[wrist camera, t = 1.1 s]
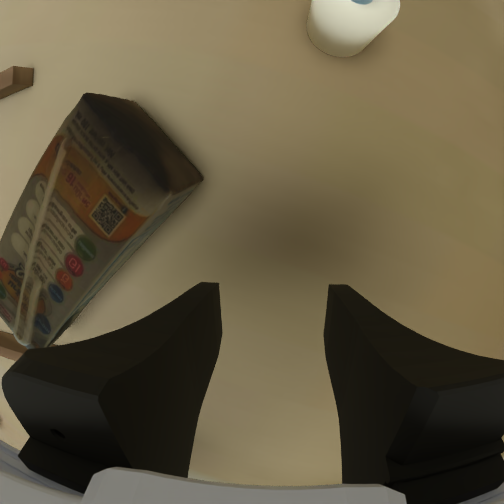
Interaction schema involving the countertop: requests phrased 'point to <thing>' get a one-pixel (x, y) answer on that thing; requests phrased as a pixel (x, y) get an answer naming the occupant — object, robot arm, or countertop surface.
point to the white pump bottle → (348, 24)
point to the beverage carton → (86, 214)
